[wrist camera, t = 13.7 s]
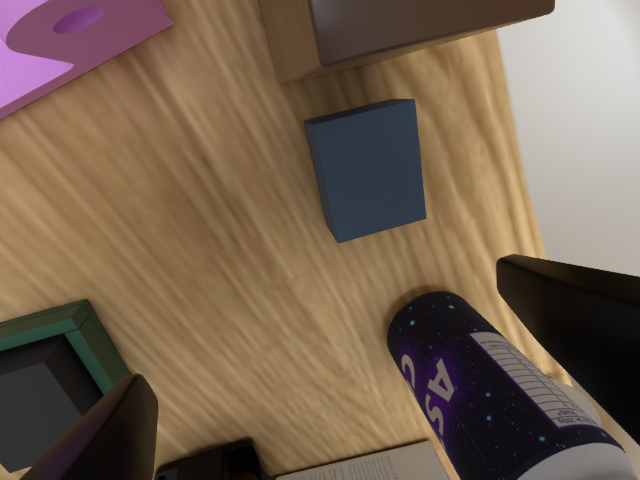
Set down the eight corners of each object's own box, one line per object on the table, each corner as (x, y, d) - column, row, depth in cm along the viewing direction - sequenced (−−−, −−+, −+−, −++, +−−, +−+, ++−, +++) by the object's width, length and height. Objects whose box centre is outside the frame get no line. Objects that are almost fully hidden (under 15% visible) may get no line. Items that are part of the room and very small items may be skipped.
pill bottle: (383, 289, 21) (531, 497, 10) (469, 278, 22) (690, 458, 11) (379, 364, 23) (498, 602, 12) (458, 351, 24) (633, 562, 13)
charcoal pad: (118, 404, 20) (102, 444, 18) (37, 429, 19) (9, 473, 17) (70, 328, 18) (43, 362, 15) (-24, 355, 17) (-65, 394, 15)
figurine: (503, 421, 24) (483, 497, 31) (597, 467, 21) (553, 541, 28) (521, 366, 27) (500, 446, 34) (605, 399, 24) (564, 480, 31)
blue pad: (405, 204, 19) (426, 218, 17) (326, 226, 19) (338, 244, 16) (392, 98, 17) (415, 98, 15) (303, 120, 17) (312, 124, 14)
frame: (150, 406, 21) (142, 431, 19) (30, 444, 20) (13, 472, 19) (86, 298, 18) (71, 317, 16) (-58, 338, 17) (-88, 362, 16)
